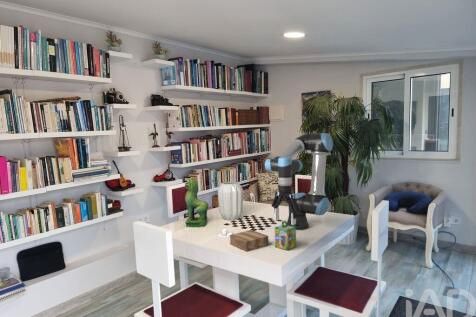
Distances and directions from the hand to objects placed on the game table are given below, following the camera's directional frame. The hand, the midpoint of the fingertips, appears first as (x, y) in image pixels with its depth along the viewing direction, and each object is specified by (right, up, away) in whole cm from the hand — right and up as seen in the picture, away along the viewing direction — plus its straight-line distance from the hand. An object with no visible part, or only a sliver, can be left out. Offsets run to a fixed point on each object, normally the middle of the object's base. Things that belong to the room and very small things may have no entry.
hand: (285, 221), depth 189 cm
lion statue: (-56, -12, +52) cm, 77 cm away
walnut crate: (-20, -15, +6) cm, 26 cm away
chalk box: (+1, -15, +1) cm, 15 cm away
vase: (-32, -10, +68) cm, 76 cm away
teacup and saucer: (-34, -14, +23) cm, 44 cm away
